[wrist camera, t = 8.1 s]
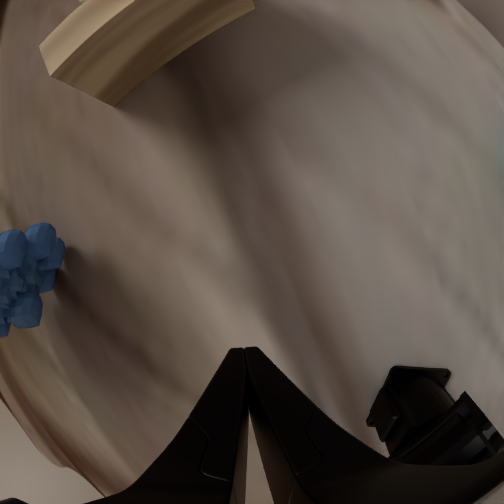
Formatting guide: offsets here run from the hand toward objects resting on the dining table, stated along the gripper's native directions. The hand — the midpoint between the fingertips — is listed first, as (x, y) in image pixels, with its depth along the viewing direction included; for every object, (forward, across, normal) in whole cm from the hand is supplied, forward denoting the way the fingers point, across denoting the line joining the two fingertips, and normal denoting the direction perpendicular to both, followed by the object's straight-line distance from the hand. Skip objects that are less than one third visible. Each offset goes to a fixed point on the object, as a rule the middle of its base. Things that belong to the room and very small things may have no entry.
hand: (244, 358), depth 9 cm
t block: (+17, +7, -21) cm, 28 cm away
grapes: (+15, +16, +3) cm, 22 cm away
